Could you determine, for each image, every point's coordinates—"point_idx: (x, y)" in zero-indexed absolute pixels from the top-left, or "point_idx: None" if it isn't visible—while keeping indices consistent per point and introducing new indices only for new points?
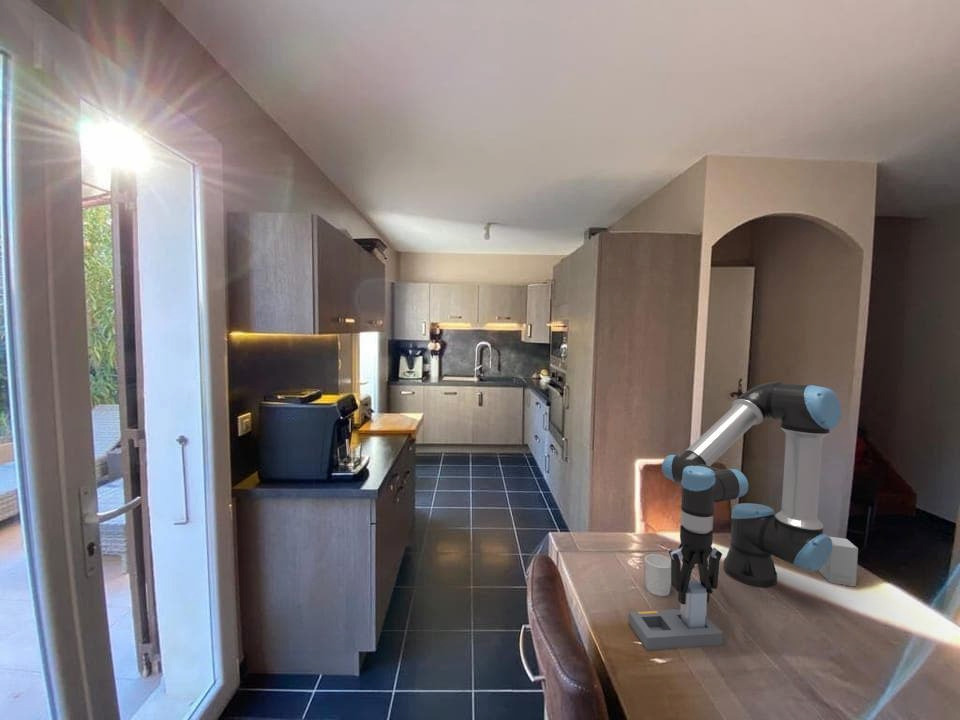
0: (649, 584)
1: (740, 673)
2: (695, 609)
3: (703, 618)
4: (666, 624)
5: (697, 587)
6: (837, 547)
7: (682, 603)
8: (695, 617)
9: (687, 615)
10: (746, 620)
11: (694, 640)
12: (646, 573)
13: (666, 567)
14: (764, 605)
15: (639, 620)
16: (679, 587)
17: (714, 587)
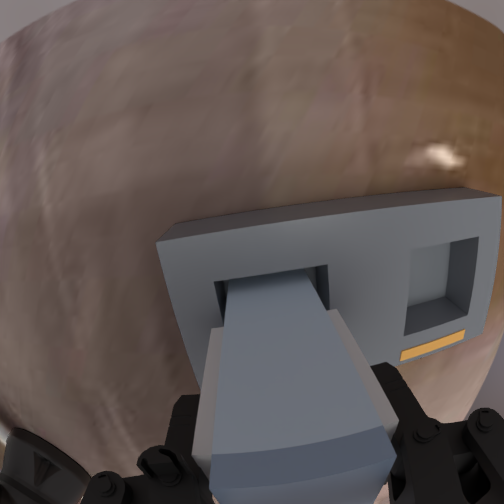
0: None
1: (171, 91)
2: (302, 339)
3: (235, 313)
4: (406, 289)
5: (295, 496)
6: None
7: (385, 366)
8: (289, 310)
9: (334, 318)
10: (59, 358)
11: (313, 211)
12: None
13: None
14: (24, 393)
15: (482, 294)
16: (487, 436)
17: (113, 485)
